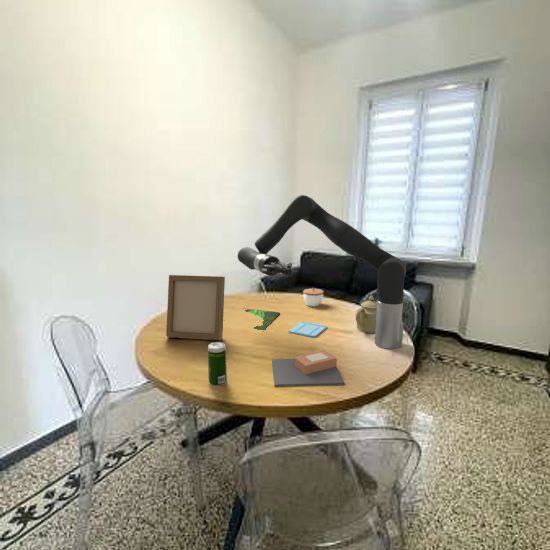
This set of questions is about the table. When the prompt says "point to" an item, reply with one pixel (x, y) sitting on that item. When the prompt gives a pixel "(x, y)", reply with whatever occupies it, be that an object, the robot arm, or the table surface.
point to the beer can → (217, 364)
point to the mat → (303, 375)
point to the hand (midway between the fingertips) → (289, 272)
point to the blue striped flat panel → (308, 329)
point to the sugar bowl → (367, 316)
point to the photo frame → (195, 307)
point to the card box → (315, 362)
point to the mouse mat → (264, 317)
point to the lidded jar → (313, 297)
